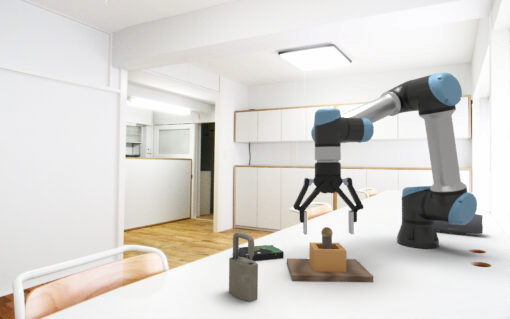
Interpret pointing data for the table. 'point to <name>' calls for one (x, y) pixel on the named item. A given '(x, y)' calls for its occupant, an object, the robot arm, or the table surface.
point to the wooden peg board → (305, 272)
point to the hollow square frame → (327, 258)
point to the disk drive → (262, 253)
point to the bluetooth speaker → (461, 226)
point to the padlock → (243, 270)
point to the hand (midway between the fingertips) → (328, 233)
